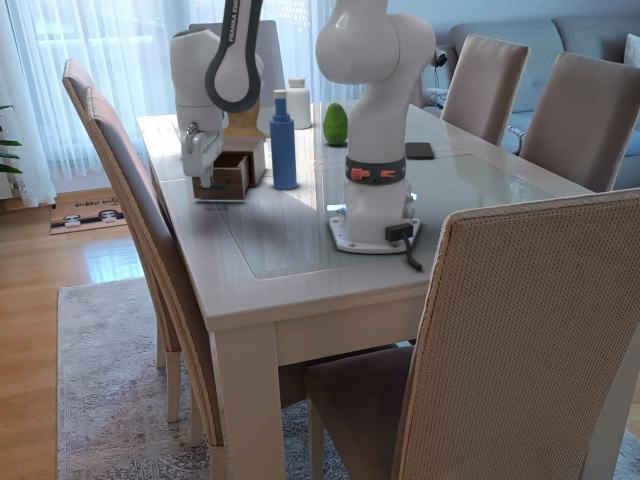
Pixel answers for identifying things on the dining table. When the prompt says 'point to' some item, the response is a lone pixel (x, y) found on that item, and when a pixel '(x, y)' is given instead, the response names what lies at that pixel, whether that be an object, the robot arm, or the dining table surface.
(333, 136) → the avocado
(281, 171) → the bottle
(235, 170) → the drawer
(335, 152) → the dining table surface
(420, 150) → the phone
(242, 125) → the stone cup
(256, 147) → the cabinet
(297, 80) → the pill bottle
